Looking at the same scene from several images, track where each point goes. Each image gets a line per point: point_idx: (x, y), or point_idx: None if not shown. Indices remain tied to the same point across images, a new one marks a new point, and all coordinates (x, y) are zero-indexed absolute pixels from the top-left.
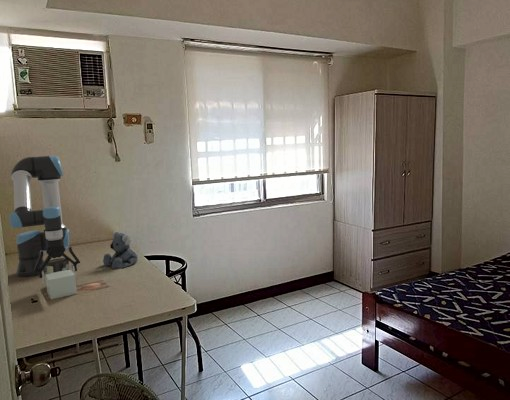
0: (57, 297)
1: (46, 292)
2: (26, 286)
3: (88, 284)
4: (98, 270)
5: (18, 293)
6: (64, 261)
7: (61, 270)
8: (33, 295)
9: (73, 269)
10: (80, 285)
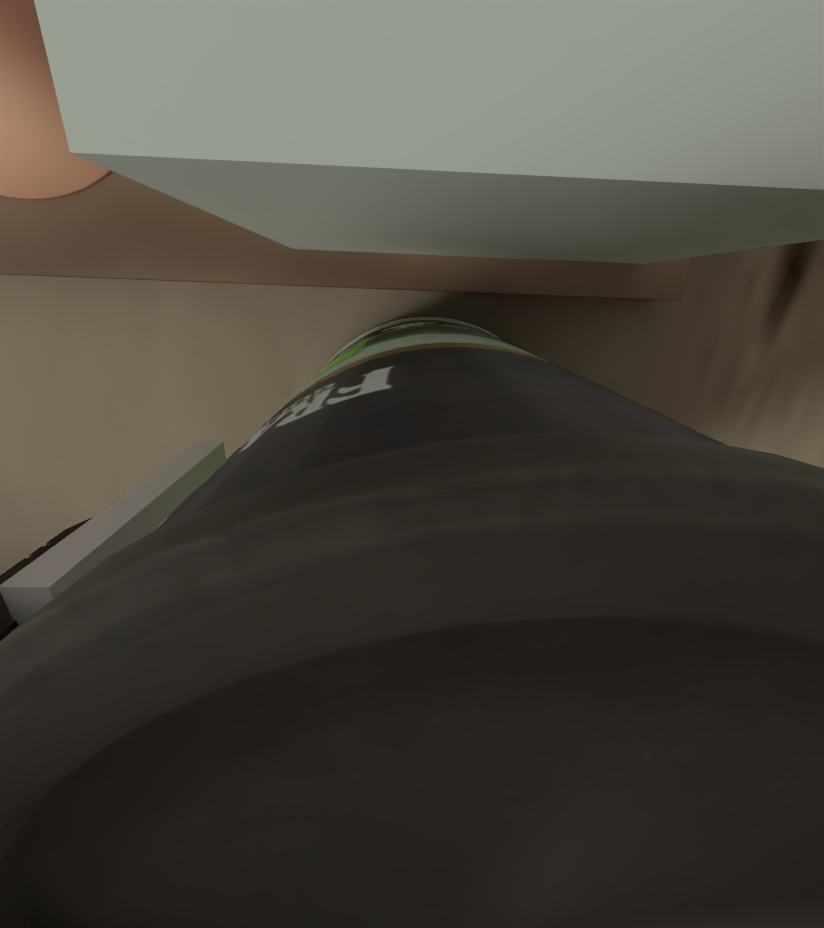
0: None
1: (648, 283)
2: None
3: (34, 171)
4: None
5: None
6: (97, 717)
7: (424, 371)
8: (719, 416)
9: (109, 523)
10: (171, 247)
